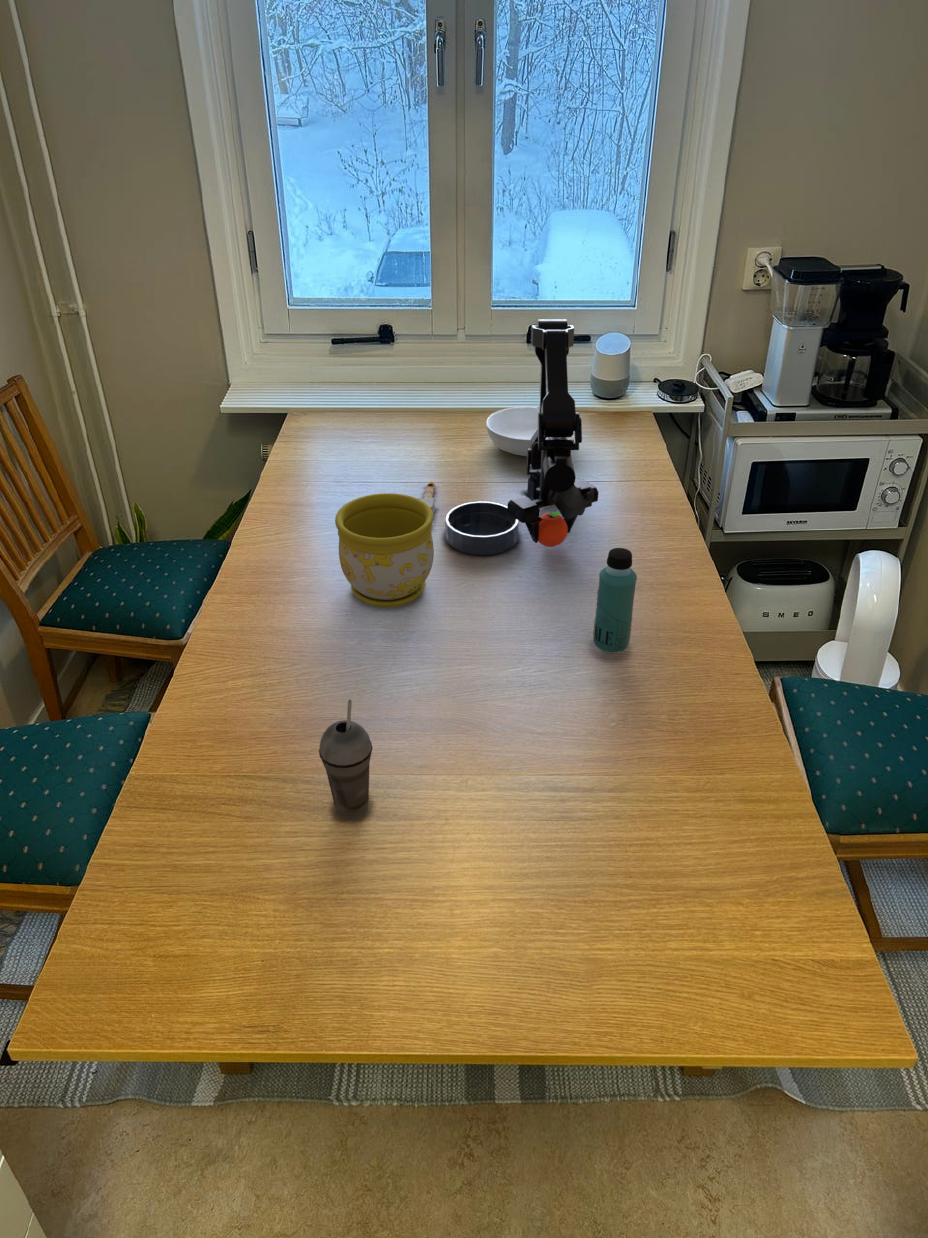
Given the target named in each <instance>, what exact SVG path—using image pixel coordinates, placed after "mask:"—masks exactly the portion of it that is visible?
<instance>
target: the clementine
mask: <svg viewBox="0 0 928 1238" xmlns="http://www.w3.org/2000/svg"><path fill="white" fill-rule="evenodd" d="M539 517H540V518H542V519H543V520H542V521H541V522H540V523H539V535H538V542H537V543H539V544H540V545H542V546H544V547H548V548H554V547H557V546H559V545H561V544H562V543H563V542H564V541H565V539H566V538H567V536H568V533H567V532H568V528H567V524H566V522H565V520H564V517H563V516H562V514H561V512H560V511H553V512H546V513H544V514H542V515H539Z"/></svg>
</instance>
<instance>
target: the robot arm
mask: <svg viewBox="0 0 928 1238" xmlns="http://www.w3.org/2000/svg"><path fill="white" fill-rule="evenodd" d="M530 328H531V329H530V331H531V332H530V334H531V335H530V343H531V345H532V347H533V349H534V354H535V355H536V357H537V359H538V361H539V363H540V373H539V375H540V376H539V378H540V379H539V398H538V399H539V401H538V408H539V413H538V429H537V431H536V432H535V434H534V435H533V436H532V438H531V445H530V449H527V455H526V456H525V469H526V475H528V476H529V477H528V478H527V489H525V490H524V494H526V495H523V496H520V497H519V496H518V497H516V498H512V499H510V500H509V501H508V502H507V505H506V506H507V512H508V513H509V514H511V515H512V516H513V517H515V518H516V519H517V520H519V523H521V524H525V527H526V529H527V531H528V533H529V535H530V537H531V540H532V542H533V543H535V544H537V543H539V542H538V535H539V523H540V522H541V521H542V520H543V519H542V518H540V516H541V515H540V513H541V510H543V509H547V508H550V507H554V506H555V507H556V508H557V510H558V512H561V514H560V515H561V517H562V518H563V519H564V520H565V522H566V524H567V528H568V532H567V534H570V533H571V530H572V529H573V526H574V524H575V522H576V520H577V518H578V516H580V517H581V516H583V515H584V513H585V510H586V509H587V508H590V507H592V506H593V503H596V502H598V501H599V490H598V488H597V487H596V486H594V485H593V484H591V482H589V481H587V480H585V479H584V478H580V479H578V480H576V479H577V478H576V472H575V471H576V470H575V466H574V462H573V458H572V451H579V450H580V444H582V442H583V430H582V429H583V427H582V426H583V425H582V421H583V420H582V418H581V417H580V416H581V415H580V413H579V412H577V411H576V401H575V399H574V398H573V397H572V395H571V394H570V393H569V381H568V380H569V379H568V377H569V376H568V358H567V357H568V355H569V353H570V348H571V347H573V346H574V344H575V343H574V341H575V327H574V325H573V324H568V319H537V322H536V323H535V324H532V325H531V327H530ZM573 435H574V439H568V438H572V437H573ZM566 437H568V438H566ZM527 496H528V497H527ZM530 498H531V499H530ZM532 499H533V500H532Z"/></svg>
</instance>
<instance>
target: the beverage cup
mask: <svg viewBox="0 0 928 1238" xmlns="http://www.w3.org/2000/svg"><path fill="white" fill-rule="evenodd" d="M352 702H353V701H352V699H347V707H346V708H347V709H346V710H347V711H346V719H343V720H338V721H336V722H333V723H332V724H330V725H329V726H328V727H327V728H326V729H325V731H324V732H323V733H322V735H321V739H320V741H319V748H318V754H319V758H320V759H321V762H322V765H323V767H324V768H325V772H326V776H327V780H328V784H329V788H330V792H331V797H332V800H333V804H334V807H335V810H336V814H337V815H338V816H339V817H340V818H341V819H344V820H348V821H353V820H358V819H360V818H362V817H363V816H364V815H366V813H367V812H368V809H369V799H370V797H369V796H370V765H371V764H370V763H371V759H372V758H371V757H372V752H373V743H372V740H371V738H370V735H369V733H368V731H367V730H366V729H365V728H364V727H363V726H362V725H361V724H359V723H358V722H356V721H354V720H352V706H353V705H352V704H353V703H352Z"/></svg>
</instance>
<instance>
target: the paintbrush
mask: <svg viewBox="0 0 928 1238" xmlns="http://www.w3.org/2000/svg"><path fill="white" fill-rule="evenodd" d="M425 487H426V488H425V492H424V496H423V497H418V498H417V499H419V500H421V501H423V502H425V503H426V504H427V505H428V506H429V507H430V508H431V510H432V512H433V514H434V513H435V511H436V506H435V503H436V502H435V498H433V496H434V493H435V489H436V483H435V482H434V481H428V482H427V483H426V486H425Z"/></svg>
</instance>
